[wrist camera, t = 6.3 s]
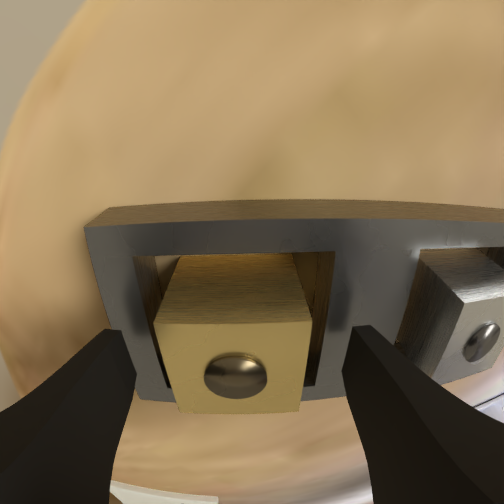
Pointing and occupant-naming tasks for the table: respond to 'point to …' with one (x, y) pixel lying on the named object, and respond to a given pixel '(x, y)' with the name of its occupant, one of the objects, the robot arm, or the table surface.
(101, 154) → the table surface
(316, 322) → the grey rectangular slotted frame
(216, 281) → the tan wooden cube
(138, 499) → the external hard drive
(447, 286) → the cube with domed knob
